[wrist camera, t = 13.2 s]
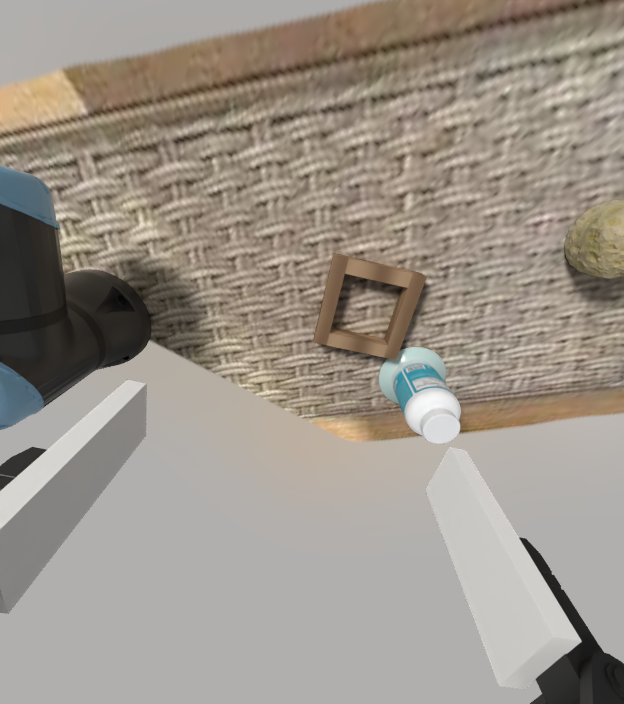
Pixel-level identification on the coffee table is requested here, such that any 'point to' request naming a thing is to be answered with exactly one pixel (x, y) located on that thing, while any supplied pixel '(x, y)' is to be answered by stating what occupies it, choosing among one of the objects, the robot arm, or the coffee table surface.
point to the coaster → (404, 356)
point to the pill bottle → (426, 401)
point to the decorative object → (598, 241)
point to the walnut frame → (400, 318)
